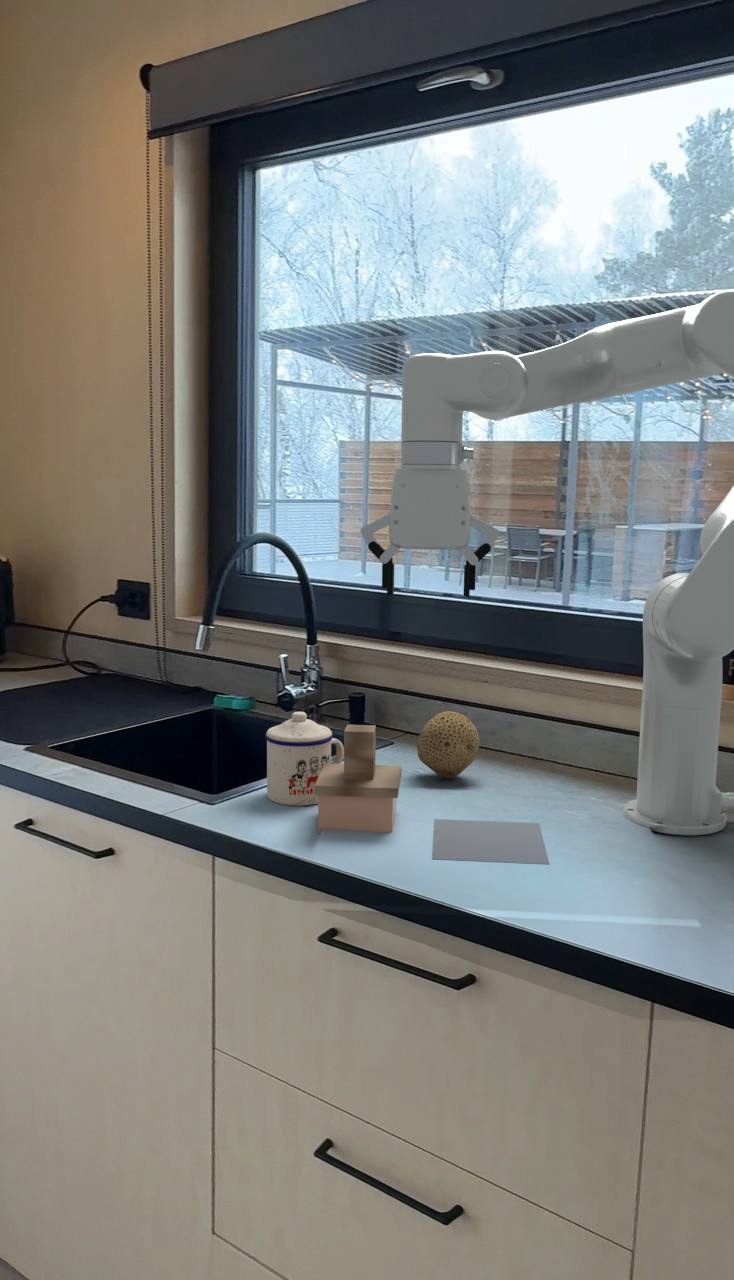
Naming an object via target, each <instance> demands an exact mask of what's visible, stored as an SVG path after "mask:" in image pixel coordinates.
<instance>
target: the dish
mask: <svg viewBox="0 0 734 1280" xmlns="http://www.w3.org/2000/svg"><path fill="white" fill-rule="evenodd" d="M397 799H398V798H377V797H350V796H322V795H318V804H317V805H318V806H317V807H318V809H317V810H318V812H317V814H318V815H317V816H318V817H317V822H318V823H317V828H318V829H317V834H319V835H321V834H322V832H323V831H322V830H326V831H352V832H373V833H374V832H375V833H379V832H380V833H393V831H394V830H393V829H394V823H395V817H396V812H397Z"/></svg>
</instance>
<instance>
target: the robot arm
mask: <svg viewBox="0 0 734 1280" xmlns="http://www.w3.org/2000/svg"><path fill="white" fill-rule="evenodd" d="M722 373H726V374H727V375H729V376H730V377H732V379H734V290H725V291H720V292H718V293H714V294H712V295H710V296H709V297H706V298H705V299H704V300H702V302H700V303H698V304H695V305H694V304H693V305H690V306H686V307H681V308H676V309H672V310H668V311H664V312H658V313H655V314H650V315H643V316H640V317H635V318H630V319H629V318H628V319H624V320H621V321H616V322H610V323H607V324H604V325H601V326H598V327H595V328H593V329H591V330H588V331H587V332H585V333H583V334H581V335H579V336H578V337H575V338H573V339H571V340H569V341H566V342H564V343H561V344H558V345H555V346H554V345H553V346H551V347H548V348H545V349H540V350H536V351H534V352H533V351H531V352H527V353H523V354H519V355H518V354H517V355H513V354H511V353H509V352H507V351H503V350H491V351H489V350H488V351H481V352H475V353H467V354H460V355H458V354H457V355H452V354H446V353H419V354H415V355H414V354H413V355H411V356H408V358H406V360H405V361H404V362H403V365H402V373H401V374H402V375H401V376H402V377H401V379H402V381H401V382H402V385H401V386H402V387H401V389H402V391H401V433H400V435H401V437H400V438H401V444H400V468H395V469H394V474H393V480H392V486H391V493H390V502H389V503H390V505H389V513H388V514H386V515H384V516H383V517H381V518H378V519H376V520H374V521H372V522H370V523H368V524H366V525H364V526H363V527H361V528H360V533H361V535H362V538H363V539H364V542H365V544H366V545H367V547H368V549H369V552H370V553H372V554H373V555H374V556H375V557H376V558H377V559H378V561H380V563H381V564H382V565H381V589H386V596H392V595H394V594H395V593H394V592H395V563H394V562H393V559H394V558H393V557H394V556H395V555H396V553H398V551H399V550H400V549H403V550H405V549H406V550H441V551H442V550H444V551H445V550H452V551H453V550H454V551H455V550H458V551H459V552H460V553H461V555H462V556H463V557H464V558H465V559H466V560H465V564H464V567H463V597H465V598H470V593H471V592H470V591H475V590H476V577H477V576H476V573H477V571H476V569H477V568H476V567H477V565H478V563H479V562H481V560H483V558H484V557H485V556H487V555H488V554H489V553H490V552H491V550H492V548H493V546H494V544H495V543H496V541H497V540H498V538H499V536H500V531H499V529H497V528H496V527H495V526H492V525H490V524H488V523H487V522H485V521H483V520H481V519H479V518H477V517H476V516H474V515H472V514H471V513H472V511H471V493H470V492H471V491H470V480H469V474H468V469H462V463H464V462H466V461H468V460H469V461H470V460H474V448H468V447H465V445H463V444H462V443H463V420H464V419H463V416H464V413H465V412H470V413H471V412H472V413H475V414H476V416H479V417H481V418H482V419H483V418H484V419H487V420H492V421H494V420H501V419H506V418H512V417H516V416H522V415H525V414H529V413H534V412H539V411H540V412H541V411H545V410H548V409H549V410H550V409H553V408H558V407H563V406H564V407H565V406H567V405H573V404H577V403H583V402H590V401H592V402H593V401H600V400H605V399H609V398H613V397H618V396H621V395H622V396H623V395H626V394H631V393H635V392H640V391H645V390H650V389H654V388H660V387H665V386H668V385H674V384H678V383H684V382H689V381H693V380H694V381H695V380H698V379H704V378H708V377H712V376H716V375H720V374H722ZM725 495H726V496H725V497H724V498H723V500H722V501H721V502H720V504H719V505H718V506H717V507H716V509H714V510H713V512H712V514H710V516H709V518H708V519H707V521H706V522H705V524H704V525H703V526H702V530H701V533H700V536H699V548H700V552H701V555H702V556H701V557H700V558H699V560H698V561H697V562H696V564H695V566H694V567H693V568H692V569H691V571H690V572H678V573H673V574H671V575H669V576H666V577H664V578H663V579H661V580H660V581H658V582H657V583H656V584H655V585H654V586H653V588H652V589H651V590H650V592H648V593H649V594H647V597H646V600H645V602H644V607H643V613H642V641H643V642H642V643H643V646H642V647H643V673H642V674H643V675H642V677H643V678H642V693H641V694H642V695H641V708H640V711H641V712H640V724H639V725H640V728H639V748H638V763H637V764H638V765H637V782H636V783H637V784H636V786H637V787H636V798H635V799H631V800H629V801H628V802H626V803H625V804H624V805H623V810H622V811H623V815H624V817H626V819H628V820H629V821H630V822H633V823H635V824H637V825H640V826H644V827H647V828H649V830H650V831H652V832H656V833H661V834H662V833H663V834H669V835H675V836H676V835H677V836H703V835H705V836H706V835H710V834H714V833H718V832H720V831H722V830H723V829H725V828H726V824H727V815H726V814H728V812H729V811H734V792H721V791H720V789H719V788H718V787H717V786H716V785H717V784H716V780H717V767H718V752H719V737H720V722H721V721H720V720H721V708H722V707H721V706H722V696H723V695H722V694H723V657H725V656H728V655H729V654H730V653H731V652H733V651H734V485H733V486H732V487H731V488H730V490H729V492H728V493H727V494H725ZM385 527H388V536H389V537H388V540H389V543H390V545H389V546H387V548H386V549H384V547H382V546H381V544H380V543H379V542H378V541H377V539H376V536H375V533H377V531H379V530H381V529H383V528H385ZM472 528H473V529H475V530H477V531H479V532H481V533H483V534H484V535H485V537H484V539H483V542H482V543H481V545H480V546H478V548H476V550H472V548H471V547H470V545H469V544H470V538H471V532H472V531H471V529H472Z"/></svg>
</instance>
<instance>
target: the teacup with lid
mask: <svg viewBox="0 0 734 1280" xmlns="http://www.w3.org/2000/svg"><path fill="white" fill-rule="evenodd" d="M307 716H308V715H307V713H306V712H304V711H294V712H293V713H292V714H291V718H290V719H287V720H285V721H284V722H282V723H280V724H278V725H277V724H276V725H275V726H272V727H270V728H268V730H267V731H266V734H265V735H264V737H265V740H266V789H267V790H266V794H267V795H266V796H267V797H268V799H269V800H270V801H272V802H274V803H276V804H279V805H283V806H284V805H286V806H297V807H298V806H299V807H300V806H302V807H303V806H312V805H318V795H314V792H315V783H316V781H317V779H318V777H319V775H320V772H321V770H322V768H323V766H324V763H331V764H342V762H343V761H344V743H342V742H341V741H340V740H339V739H337V738H335V737H334V736H333V732H332V730H331V729H330V728H329V727H327V726H326V725H321V724H319V723H317V722H315V721H314V720H311V719H308V718H307ZM332 745H334V746H335V750H336V751H335V757H334V760H333V762H332Z"/></svg>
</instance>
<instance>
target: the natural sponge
mask: <svg viewBox="0 0 734 1280" xmlns="http://www.w3.org/2000/svg"><path fill="white" fill-rule="evenodd" d="M479 749H480V736H479V732H478V730H477V728H476V726H475V724H474V723H473V722H472V721H471V720H470V719H469V718H468V717H467V716H466V715H465V714H462V713H459V712H457V711H448V710H447V711H442V712H440V713H437V714H435V715H434V716H433V717H432V718H431V719H430V720H428V721H427V723H426V724H425V725H424V726H423V728H422V729H421V732H420V734H419V736H418V739H417V742H416V750H417V756H418V759H419V760H420V762H421V763H423V764H424V765H425V766H426V767H427V768H429V769H430V770H432V772H433V773H435V774H436V775H438V776H439V777H441V778H443V779H447V780H450V779H452V778H455V777H458V776H459V775H460V774H461V773H463V771H465V770H466V769H467V768H468V767H469V766H471V764H472V763H473V762H474V760H475V759H476V757H477V755H478V753H479Z"/></svg>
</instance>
